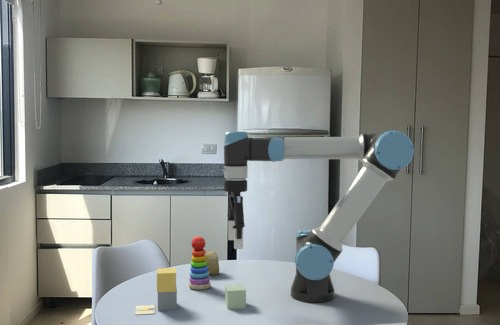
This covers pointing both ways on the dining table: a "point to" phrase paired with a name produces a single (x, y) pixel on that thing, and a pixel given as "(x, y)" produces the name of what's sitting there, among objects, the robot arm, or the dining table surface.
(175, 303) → the slate brick
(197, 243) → the stacking toy
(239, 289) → the sage brick
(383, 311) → the dining table surface
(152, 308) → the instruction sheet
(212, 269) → the tan rough rounded lump
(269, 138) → the robot arm
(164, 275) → the mustard brick
